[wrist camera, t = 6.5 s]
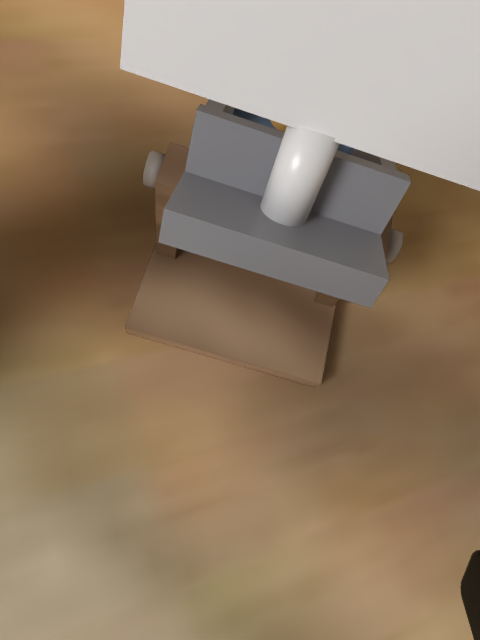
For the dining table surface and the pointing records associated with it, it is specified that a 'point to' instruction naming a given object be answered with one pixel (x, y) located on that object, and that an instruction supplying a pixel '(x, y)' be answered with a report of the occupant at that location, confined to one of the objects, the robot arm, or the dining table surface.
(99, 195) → the dining table surface
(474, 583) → the robot arm
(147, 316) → the stand
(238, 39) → the tipper
